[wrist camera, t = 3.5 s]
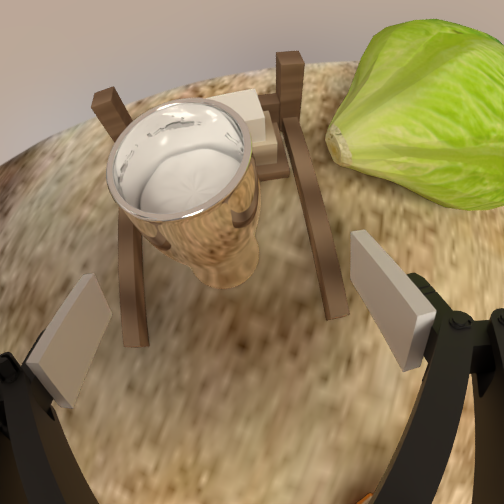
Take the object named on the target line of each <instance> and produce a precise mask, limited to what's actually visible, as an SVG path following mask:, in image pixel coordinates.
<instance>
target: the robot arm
mask: <svg viewBox="0 0 504 504" xmlns="http://www.w3.org/2000/svg"><path fill="white" fill-rule="evenodd" d="M350 280H351V282H352V283H353V285H354V287H355V288H356V290H357V292H358V293H359V295H360V297H361V298H362V300H363V302H364V303H365V305H366V307H367V308H368V310H369V312H370V314H371V315H372V317H373V319H374V320H375V322H376V324H377V326H378V327H379V329H380V331H381V333H382V335H383V336H384V338H385V340H386V342H387V343H388V345H389V347H390V349H391V351H392V353H393V354H394V356H395V358H396V360H397V362H398V364H399V366H400V367H401V369H402V371H403V372H405V371H408V370H411V369H414V368H417V367H420V365H421V362H422V359H423V356H424V357H425V359H426V360H427V362H428V365H427V368H426V371H425V374H424V376H423V379H422V384H421V387H420V390H419V393H418V396H417V398H416V401H415V404H414V407H413V409H412V412H411V415H410V417H409V420H408V422H407V425H406V427H405V430H404V432H403V435H402V437H401V439H400V441H399V444H398V446H397V448H396V450H395V453H394V455H393V457H392V459H391V461H390V463H389V465H388V467H387V469H386V471H385V473H384V475H383V477H382V479H381V481H380V483H379V485H378V487H377V489H376V490H375V492H374V494H373V496H372V498H371V499H370V501H369V503H368V504H432V501H433V499H434V497H435V494H436V492H437V489H438V487H439V484H440V482H441V479H442V476H443V474H444V471H445V468H446V465H447V462H448V459H449V456H450V453H451V450H452V447H453V443H454V440H455V436H456V433H457V429H458V425H459V421H460V417H461V413H462V409H463V404H464V400H465V395H466V390H467V384H468V379H469V374H471V375H472V385H473V396H474V411H475V471H474V486H473V496H472V504H504V309H503V308H500V309H496V310H494V311H493V312H492V314H491V317H490V320H481V321H474V320H473V319H472V317H471V316H469V315H468V314H467V313H464V312H461V311H453V310H452V309H451V308H450V307H449V305H448V304H447V303H446V302H445V301H444V300H443V299H442V297H441V296H440V295H439V294H438V293H437V292H436V291H435V289H434V288H433V287H432V286H430V284H429V283H428V282H427V281H426V280H425V278H423V277H421V276H420V275H418V274H416V273H410V274H405V273H404V271H403V270H402V269H401V268H400V267H399V266H398V265H397V264H396V262H395V261H394V260H393V259H392V258H391V257H390V256H389V255H388V254H387V252H386V251H385V250H384V249H383V248H382V247H381V246H380V245H379V244H378V243H377V242H376V241H375V240H374V238H373V237H372V236H371V235H370V234H369V233H368V232H367V231H366V230H365V229H364V230H358V231H351V265H350ZM112 315H113V314H112V312H111V310H110V308H109V306H108V303H107V301H106V299H105V297H104V295H103V292H102V290H101V288H100V285H99V283H98V281H97V278H96V276H95V273H89V274H83V275H82V276H81V278H80V279H79V281H78V282H77V283H76V285H75V286H74V288H73V289H72V290H71V292H70V293H69V295H68V296H67V298H66V299H65V301H64V302H63V304H62V305H61V307H60V308H59V310H58V311H57V313H56V314H55V316H54V317H53V319H52V320H51V322H50V323H49V325H48V326H47V328H46V329H45V330H43V331H42V332H41V333H40V335H39V337H38V338H37V340H36V342H35V343H34V345H33V346H32V348H31V350H30V351H29V353H28V355H27V356H26V358H25V360H24V362H23V363H22V365H21V366H20V365H19V363H18V362H17V361H16V359H15V358H14V356H13V355H12V353H10V352H5V353H3V354H1V355H0V504H99V503H98V501H97V500H96V498H95V496H94V494H93V493H92V491H91V489H90V487H89V485H88V484H87V482H86V480H85V478H84V476H83V474H82V472H81V470H80V468H79V466H78V464H77V462H76V460H75V457H74V455H73V453H72V451H71V449H70V446H69V444H68V442H67V439H66V437H65V435H64V432H63V430H62V427H61V425H60V422H59V419H58V417H57V414H56V411H55V409H54V408H53V406H52V405H51V403H52V400H53V399H54V400H55V401H56V403H57V404H58V405H59V406H60V407H63V408H73V409H74V406H75V403H76V400H77V398H78V395H79V392H80V390H81V387H82V385H83V382H84V380H85V377H86V375H87V372H88V370H89V367H90V365H91V362H92V360H93V358H94V355H95V353H96V350H97V348H98V346H99V344H100V341H101V339H102V337H103V334H104V332H105V330H106V328H107V326H108V323H109V321H110V319H111V317H112Z"/></svg>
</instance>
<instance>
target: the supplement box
mask: <svg viewBox="0 0 504 504" xmlns="http://www.w3.org/2000/svg"><path fill="white" fill-rule="evenodd" d="M372 496H373V494H372V493H369V494H368V495H367V496H365V497H364V498H363V499H361V500H360V501H359V502H357V503H356V504H368V503H369V501H370V499H371V498H372Z"/></svg>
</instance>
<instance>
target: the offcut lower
mask: <svg viewBox="0 0 504 504" xmlns="http://www.w3.org/2000/svg"><path fill="white" fill-rule="evenodd" d="M263 113H264V116H265V135H266V141H262V142H256V143H252V148H253V152H254V155H255V159H256V164H257V166H260V165H266V164H273V163H277V140H276V136H275V132H274V129H273V125H272V121H271V117H270V114H269V111H263Z"/></svg>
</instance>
